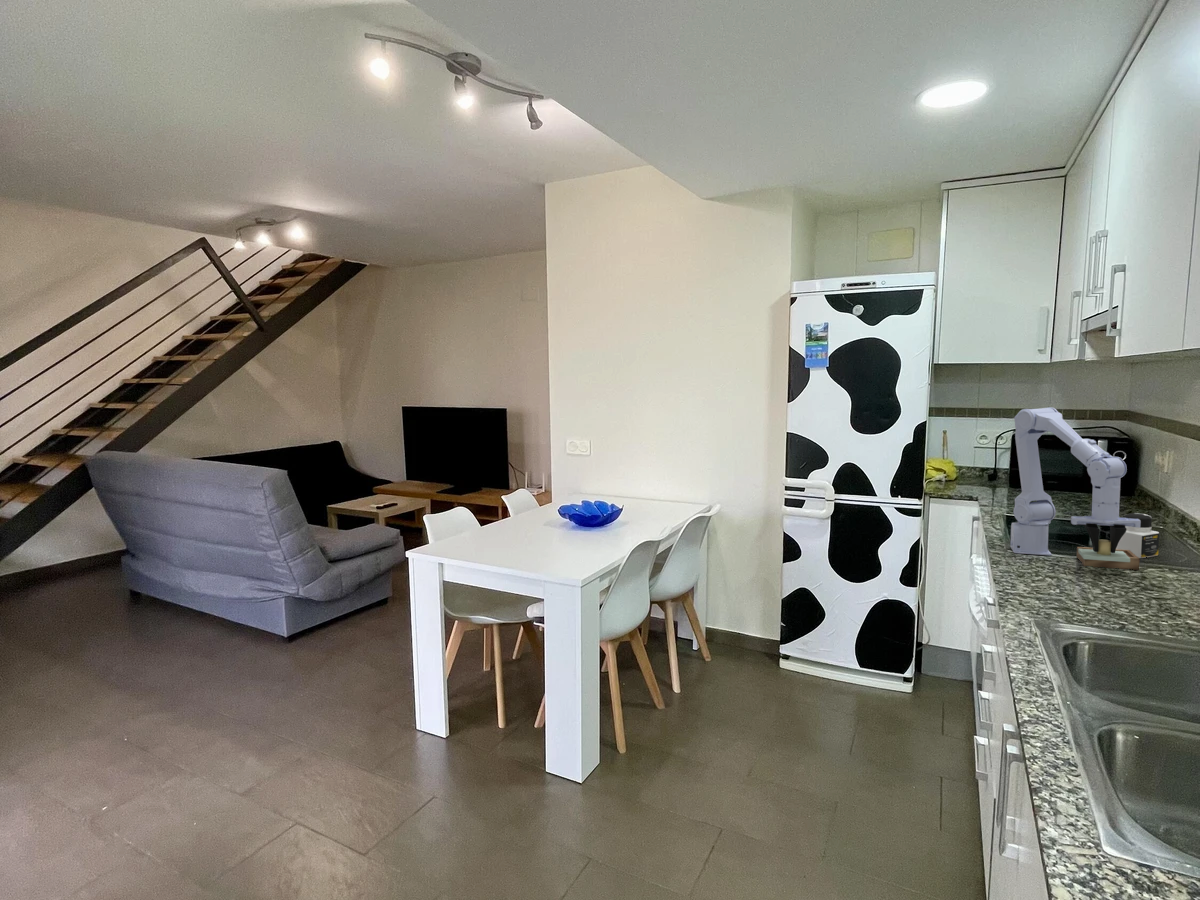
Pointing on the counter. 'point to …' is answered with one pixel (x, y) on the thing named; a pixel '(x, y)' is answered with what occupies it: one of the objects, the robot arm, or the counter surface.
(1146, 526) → the medicine bottle
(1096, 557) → the lid
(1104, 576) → the counter surface
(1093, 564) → the box
